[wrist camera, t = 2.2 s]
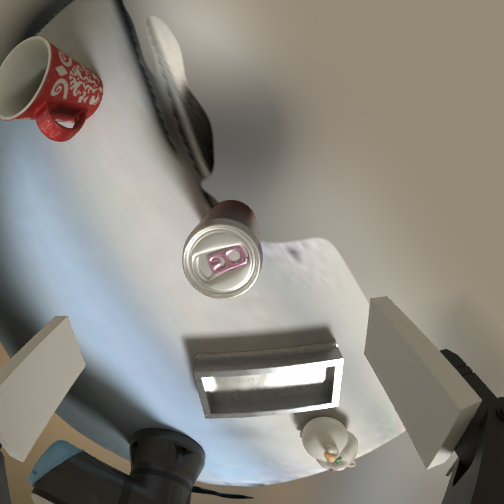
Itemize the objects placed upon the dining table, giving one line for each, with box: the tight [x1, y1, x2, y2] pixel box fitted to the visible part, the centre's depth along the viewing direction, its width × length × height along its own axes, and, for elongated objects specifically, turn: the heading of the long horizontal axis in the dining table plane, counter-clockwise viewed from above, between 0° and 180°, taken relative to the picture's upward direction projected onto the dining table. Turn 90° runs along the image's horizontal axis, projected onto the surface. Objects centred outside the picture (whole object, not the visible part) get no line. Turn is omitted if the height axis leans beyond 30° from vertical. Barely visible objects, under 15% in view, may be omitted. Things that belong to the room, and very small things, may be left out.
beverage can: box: [182, 200, 263, 299], centre depth 28 cm, size 6×6×15 cm
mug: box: [0, 36, 103, 142], centre depth 24 cm, size 13×9×14 cm
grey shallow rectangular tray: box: [193, 342, 343, 418], centre depth 39 cm, size 20×10×4 cm, turn 95°
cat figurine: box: [300, 417, 358, 473], centre depth 42 cm, size 10×8×15 cm
